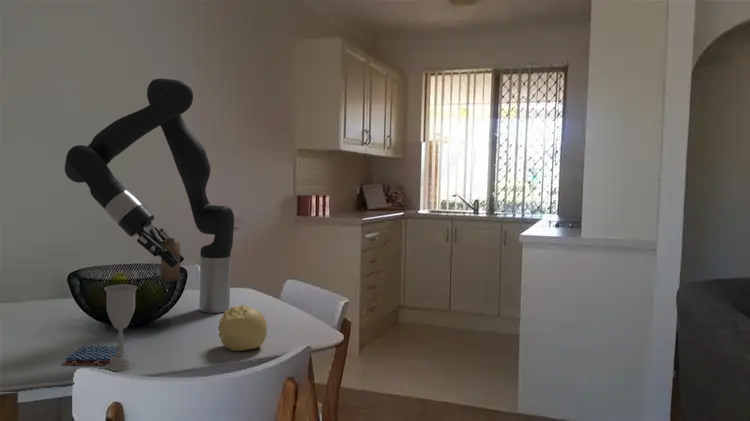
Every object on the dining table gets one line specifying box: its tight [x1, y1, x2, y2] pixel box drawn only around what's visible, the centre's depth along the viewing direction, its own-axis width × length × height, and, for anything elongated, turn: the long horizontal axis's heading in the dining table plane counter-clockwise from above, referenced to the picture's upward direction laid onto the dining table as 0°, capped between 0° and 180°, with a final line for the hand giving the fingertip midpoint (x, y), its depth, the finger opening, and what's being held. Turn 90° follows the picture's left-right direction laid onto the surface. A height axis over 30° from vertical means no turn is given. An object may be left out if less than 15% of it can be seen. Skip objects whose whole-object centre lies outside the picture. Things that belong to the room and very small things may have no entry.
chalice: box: [104, 283, 138, 372], centre depth 132 cm, size 7×7×18 cm
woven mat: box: [64, 345, 126, 366], centre depth 139 cm, size 10×11×2 cm
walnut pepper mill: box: [160, 236, 181, 282], centre depth 148 cm, size 4×4×10 cm
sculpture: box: [217, 304, 268, 352], centre depth 150 cm, size 11×12×11 cm
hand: (178, 263), depth 148 cm, fingers closed on walnut pepper mill, 4 cm apart
